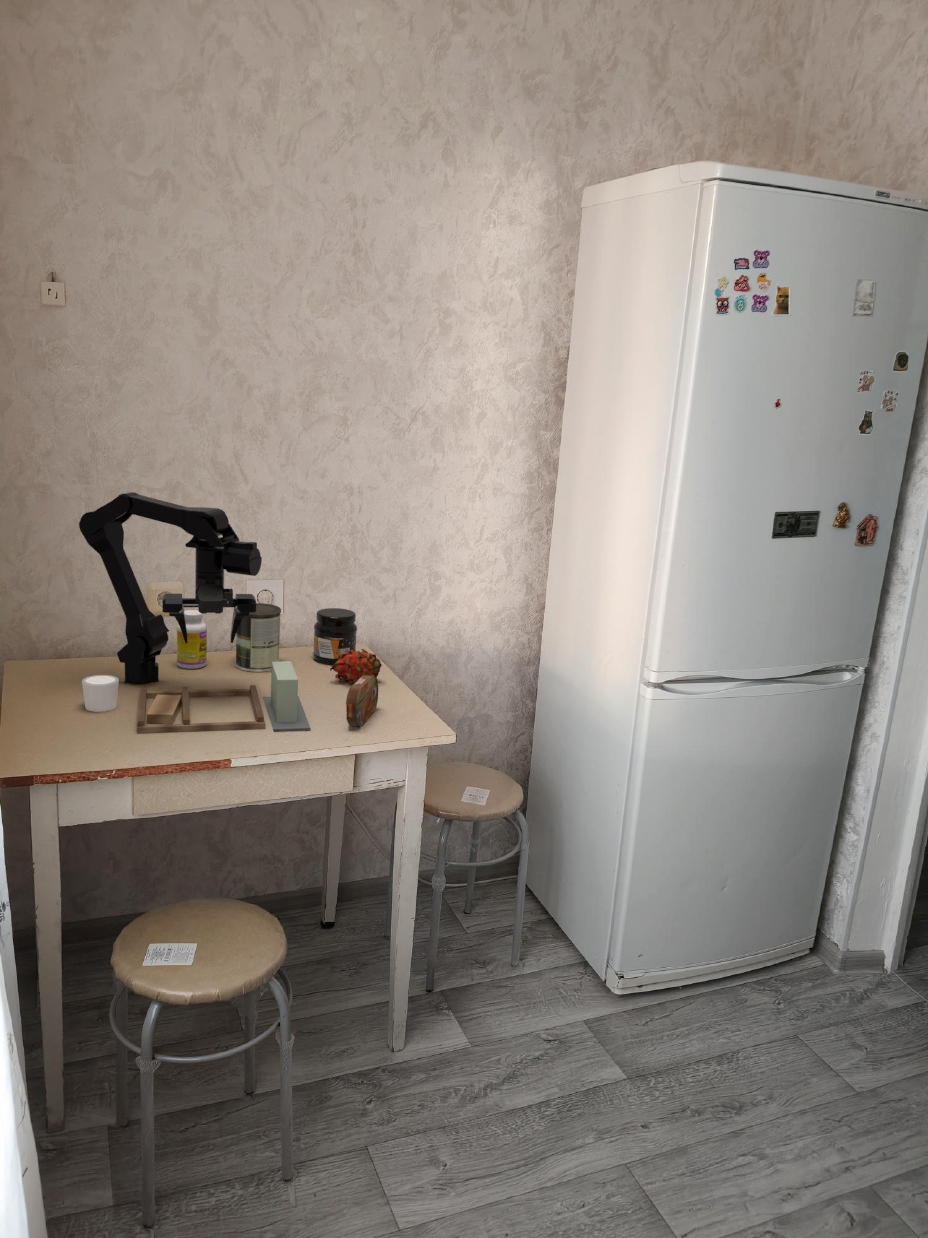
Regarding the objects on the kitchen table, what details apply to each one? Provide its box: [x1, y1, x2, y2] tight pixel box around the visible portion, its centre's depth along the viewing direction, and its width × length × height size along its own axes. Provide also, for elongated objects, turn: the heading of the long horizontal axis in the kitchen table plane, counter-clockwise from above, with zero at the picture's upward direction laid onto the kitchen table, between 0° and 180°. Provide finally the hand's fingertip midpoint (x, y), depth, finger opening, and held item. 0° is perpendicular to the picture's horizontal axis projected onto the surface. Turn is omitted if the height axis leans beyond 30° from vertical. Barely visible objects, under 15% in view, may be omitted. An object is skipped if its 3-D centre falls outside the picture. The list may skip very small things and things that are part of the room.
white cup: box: [81, 674, 120, 713], centre depth 188 cm, size 7×7×7 cm
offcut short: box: [146, 695, 182, 725], centre depth 187 cm, size 5×11×2 cm, turn 7°
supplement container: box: [312, 607, 358, 666], centre depth 233 cm, size 10×10×12 cm
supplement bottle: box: [176, 609, 208, 670], centre depth 220 cm, size 7×7×13 cm
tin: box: [345, 675, 379, 727], centre depth 195 cm, size 15×3×8 cm, turn 168°
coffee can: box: [234, 602, 282, 673], centre depth 223 cm, size 10×10×14 cm
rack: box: [137, 684, 266, 735], centre depth 189 cm, size 23×20×4 cm
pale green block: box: [270, 660, 299, 723], centre depth 194 cm, size 4×12×9 cm, turn 17°
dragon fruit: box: [329, 648, 383, 684], centre depth 218 cm, size 8×8×12 cm
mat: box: [262, 695, 311, 733], centre depth 195 cm, size 8×19×1 cm, turn 17°
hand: (209, 642), depth 199 cm, fingers open, 9 cm apart
